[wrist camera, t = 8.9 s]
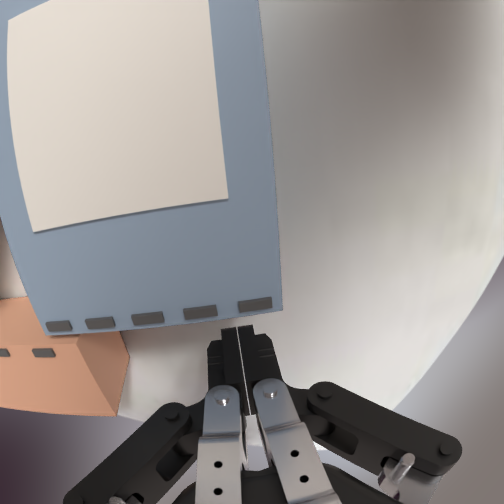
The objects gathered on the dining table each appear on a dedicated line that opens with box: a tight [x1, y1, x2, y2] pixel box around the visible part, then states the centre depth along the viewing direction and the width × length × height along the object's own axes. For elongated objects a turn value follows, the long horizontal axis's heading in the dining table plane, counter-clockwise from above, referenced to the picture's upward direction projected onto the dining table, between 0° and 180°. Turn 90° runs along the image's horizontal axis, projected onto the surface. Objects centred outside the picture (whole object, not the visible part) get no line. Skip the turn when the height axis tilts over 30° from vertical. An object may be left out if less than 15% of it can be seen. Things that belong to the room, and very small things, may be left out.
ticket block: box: [0, 0, 283, 336], centre depth 11 cm, size 10×14×5 cm
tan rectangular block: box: [0, 296, 130, 416], centre depth 14 cm, size 10×5×5 cm, turn 95°
